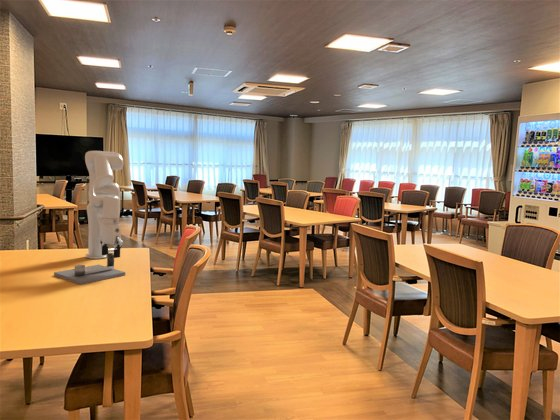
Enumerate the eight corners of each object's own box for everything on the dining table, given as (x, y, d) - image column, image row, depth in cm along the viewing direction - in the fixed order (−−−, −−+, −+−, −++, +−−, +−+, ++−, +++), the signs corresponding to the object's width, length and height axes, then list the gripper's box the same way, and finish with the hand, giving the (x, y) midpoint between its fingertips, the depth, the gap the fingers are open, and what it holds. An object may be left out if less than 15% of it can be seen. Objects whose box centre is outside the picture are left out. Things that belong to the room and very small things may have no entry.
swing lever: (77, 276, 196) (77, 260, 196) (72, 274, 199) (72, 258, 198) (116, 268, 213) (116, 253, 212) (110, 267, 215) (110, 252, 214)
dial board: (98, 267, 222) (98, 264, 222) (125, 275, 209) (125, 271, 209) (54, 275, 203) (54, 271, 203) (80, 284, 190) (80, 280, 190)
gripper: (128, 222, 208) (128, 257, 210) (107, 219, 218) (107, 252, 219) (115, 223, 202) (114, 259, 204) (93, 220, 212) (93, 254, 213)
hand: (110, 256), depth 211 cm, fingers open, 9 cm apart
